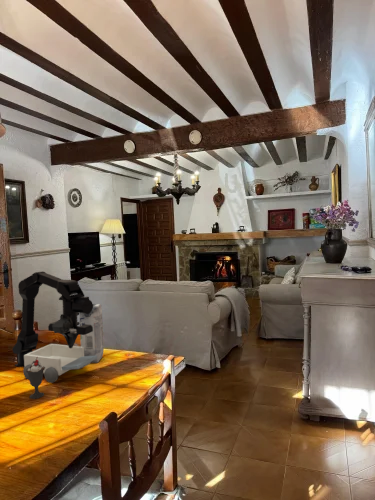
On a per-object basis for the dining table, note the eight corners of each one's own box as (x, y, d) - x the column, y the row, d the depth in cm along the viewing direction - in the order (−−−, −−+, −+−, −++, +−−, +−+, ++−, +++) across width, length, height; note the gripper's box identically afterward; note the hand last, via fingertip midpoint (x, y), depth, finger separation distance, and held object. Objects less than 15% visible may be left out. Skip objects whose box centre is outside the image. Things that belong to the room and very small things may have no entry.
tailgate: (61, 367, 144) (77, 365, 141) (81, 356, 156) (96, 355, 153) (62, 372, 144) (78, 371, 141) (82, 361, 156) (97, 360, 153)
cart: (22, 378, 148) (21, 356, 148) (54, 363, 166) (53, 342, 165) (57, 384, 142) (56, 360, 142) (86, 367, 159) (85, 346, 159)
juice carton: (105, 356, 173) (102, 300, 172) (99, 363, 163) (96, 304, 162) (86, 356, 174) (84, 301, 172) (79, 364, 163) (77, 305, 162)
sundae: (39, 400, 128) (37, 359, 127) (23, 399, 129) (20, 358, 129) (50, 392, 134) (48, 353, 134) (34, 391, 136) (32, 352, 135)
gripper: (37, 313, 145) (39, 351, 146) (75, 317, 138) (76, 357, 139) (57, 307, 156) (58, 343, 156) (93, 311, 149) (94, 348, 150)
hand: (70, 348), depth 150 cm, fingers closed
